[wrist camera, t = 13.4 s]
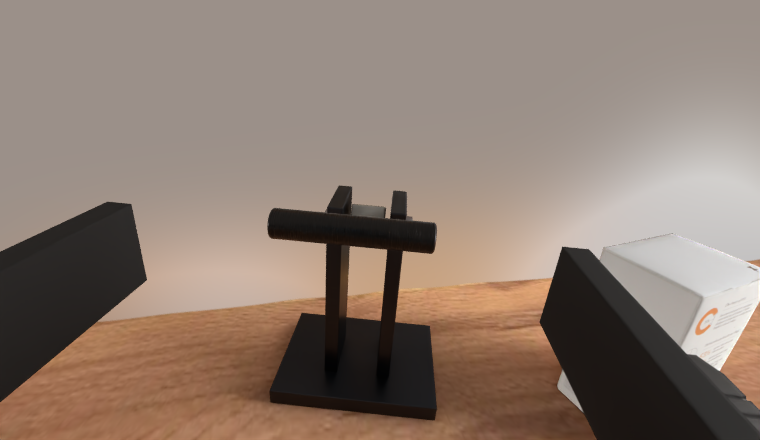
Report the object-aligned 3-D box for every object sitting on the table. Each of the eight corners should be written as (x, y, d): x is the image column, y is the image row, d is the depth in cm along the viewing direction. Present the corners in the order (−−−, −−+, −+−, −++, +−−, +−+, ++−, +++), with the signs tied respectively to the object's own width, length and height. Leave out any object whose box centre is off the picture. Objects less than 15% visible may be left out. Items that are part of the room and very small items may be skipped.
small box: (617, 361, 34) (673, 230, 29) (695, 419, 29) (780, 273, 23) (552, 386, 31) (601, 244, 25) (626, 458, 25) (707, 297, 20)
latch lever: (433, 268, 15) (439, 210, 15) (264, 252, 15) (269, 194, 15) (415, 243, 27) (418, 210, 27) (320, 234, 28) (323, 201, 27)
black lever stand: (434, 420, 27) (469, 235, 21) (270, 402, 27) (258, 216, 21) (428, 335, 35) (451, 185, 29) (302, 322, 35) (299, 172, 30)
